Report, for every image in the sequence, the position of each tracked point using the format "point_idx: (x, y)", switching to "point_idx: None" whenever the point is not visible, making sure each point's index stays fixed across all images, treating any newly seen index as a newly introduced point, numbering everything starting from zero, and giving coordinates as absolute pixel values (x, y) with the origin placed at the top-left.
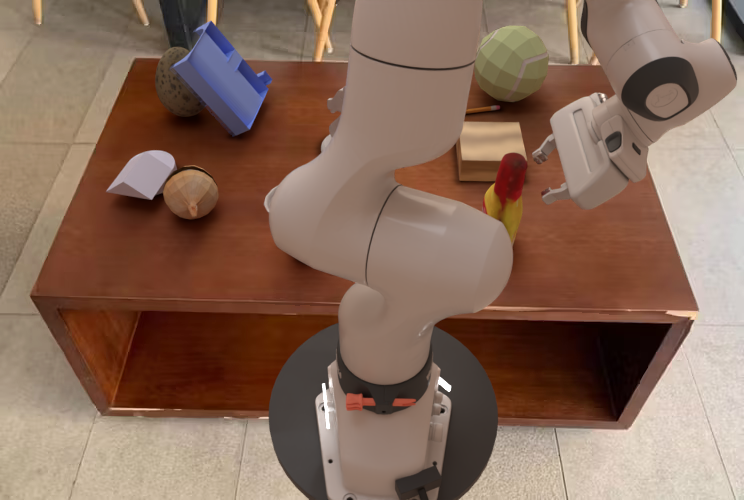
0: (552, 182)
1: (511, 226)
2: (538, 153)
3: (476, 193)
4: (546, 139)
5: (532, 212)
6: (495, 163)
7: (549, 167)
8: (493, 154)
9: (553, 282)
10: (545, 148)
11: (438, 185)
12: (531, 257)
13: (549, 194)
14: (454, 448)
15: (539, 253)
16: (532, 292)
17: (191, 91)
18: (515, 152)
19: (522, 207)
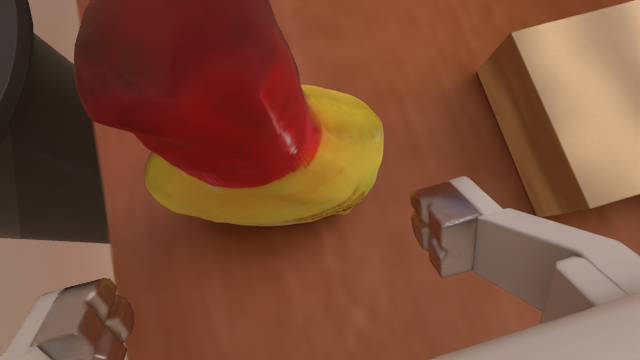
0: None
1: (156, 193)
2: (446, 208)
3: (448, 116)
4: (582, 237)
5: None
6: (542, 122)
7: None
8: (574, 107)
9: (200, 345)
10: (504, 246)
11: (442, 32)
12: (270, 279)
13: (15, 340)
14: None
15: (289, 296)
16: (157, 297)
17: None
18: (614, 167)
19: (274, 217)
